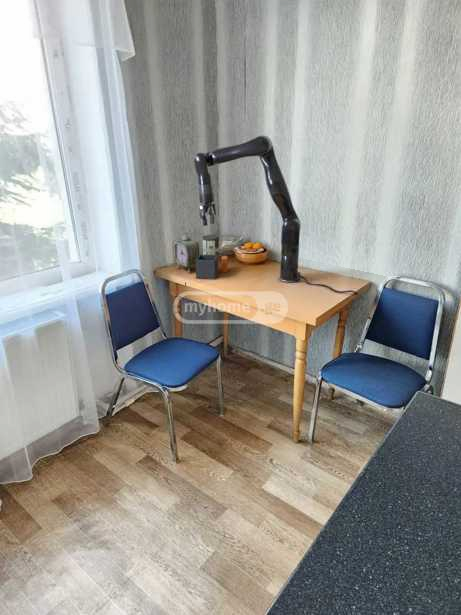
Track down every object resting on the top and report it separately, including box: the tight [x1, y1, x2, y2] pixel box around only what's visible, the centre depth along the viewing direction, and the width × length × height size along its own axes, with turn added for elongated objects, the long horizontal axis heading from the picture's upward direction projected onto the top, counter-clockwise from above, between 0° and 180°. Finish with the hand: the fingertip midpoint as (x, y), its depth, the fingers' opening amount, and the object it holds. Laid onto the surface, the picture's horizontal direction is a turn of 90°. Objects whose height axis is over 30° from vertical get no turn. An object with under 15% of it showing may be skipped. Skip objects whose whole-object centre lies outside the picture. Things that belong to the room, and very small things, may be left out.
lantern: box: [201, 234, 220, 261], centre depth 246 cm, size 10×10×14 cm
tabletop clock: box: [172, 226, 200, 274], centre depth 225 cm, size 14×9×25 cm, turn 43°
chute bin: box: [195, 254, 219, 280], centre depth 218 cm, size 10×10×11 cm
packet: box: [220, 255, 229, 273], centre depth 226 cm, size 3×5×8 cm, turn 172°
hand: (209, 224), depth 211 cm, fingers open, 8 cm apart
